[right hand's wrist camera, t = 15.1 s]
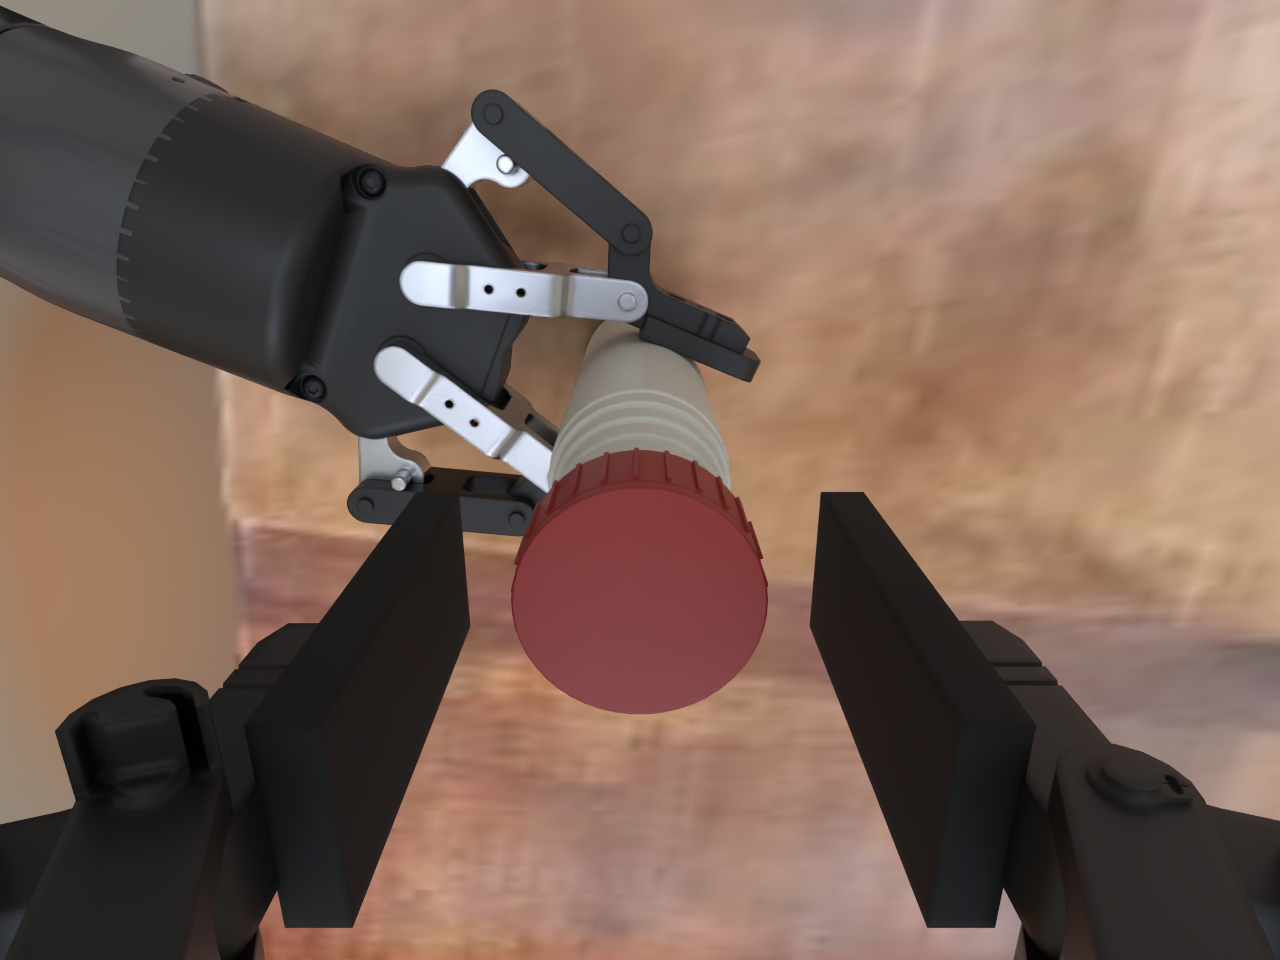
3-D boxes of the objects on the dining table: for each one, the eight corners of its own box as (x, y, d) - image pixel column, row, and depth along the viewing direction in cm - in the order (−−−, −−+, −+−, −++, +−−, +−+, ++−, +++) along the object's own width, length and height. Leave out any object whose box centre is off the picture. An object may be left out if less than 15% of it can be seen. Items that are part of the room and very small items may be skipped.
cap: (628, 694, 16) (627, 760, 14) (475, 545, 15) (452, 596, 13) (801, 566, 15) (824, 618, 13) (651, 396, 14) (652, 428, 12)
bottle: (587, 304, 30) (514, 464, 13) (698, 311, 30) (780, 480, 13) (583, 411, 32) (511, 691, 14) (688, 418, 32) (751, 704, 14)
